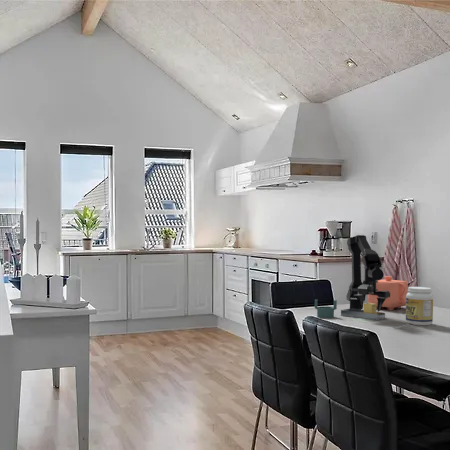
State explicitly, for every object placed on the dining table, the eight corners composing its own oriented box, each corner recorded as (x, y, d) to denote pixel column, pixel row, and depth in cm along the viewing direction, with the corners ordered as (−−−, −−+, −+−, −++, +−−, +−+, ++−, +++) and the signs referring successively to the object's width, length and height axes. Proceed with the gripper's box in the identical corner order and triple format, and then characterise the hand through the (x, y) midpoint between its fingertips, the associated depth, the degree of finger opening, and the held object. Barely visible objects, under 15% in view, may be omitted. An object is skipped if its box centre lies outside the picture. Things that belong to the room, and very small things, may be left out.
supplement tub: (400, 322, 286) (400, 286, 286) (420, 321, 291) (421, 286, 291) (417, 326, 275) (417, 289, 275) (438, 325, 280) (439, 288, 280)
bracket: (338, 318, 295) (338, 300, 295) (323, 319, 291) (323, 301, 291) (326, 316, 303) (326, 298, 303) (311, 317, 298) (312, 299, 298)
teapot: (386, 303, 355) (386, 273, 355) (421, 308, 338) (421, 276, 338) (361, 307, 338) (362, 275, 338) (397, 311, 321) (397, 278, 321)
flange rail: (350, 314, 308) (350, 308, 308) (385, 319, 294) (385, 312, 294) (340, 316, 301) (341, 310, 301) (376, 321, 288) (376, 314, 288)
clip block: (368, 312, 298) (368, 302, 298) (376, 313, 295) (376, 303, 295) (363, 313, 295) (363, 303, 295) (371, 314, 292) (371, 304, 292)
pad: (357, 319, 293) (357, 318, 293) (374, 321, 287) (374, 320, 287) (347, 321, 287) (347, 320, 287) (364, 323, 281) (364, 322, 281)
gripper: (345, 278, 295) (344, 309, 295) (379, 281, 283) (379, 314, 283) (357, 276, 304) (356, 307, 304) (391, 279, 291) (390, 311, 291)
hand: (370, 310), depth 295 cm, fingers open, 9 cm apart
